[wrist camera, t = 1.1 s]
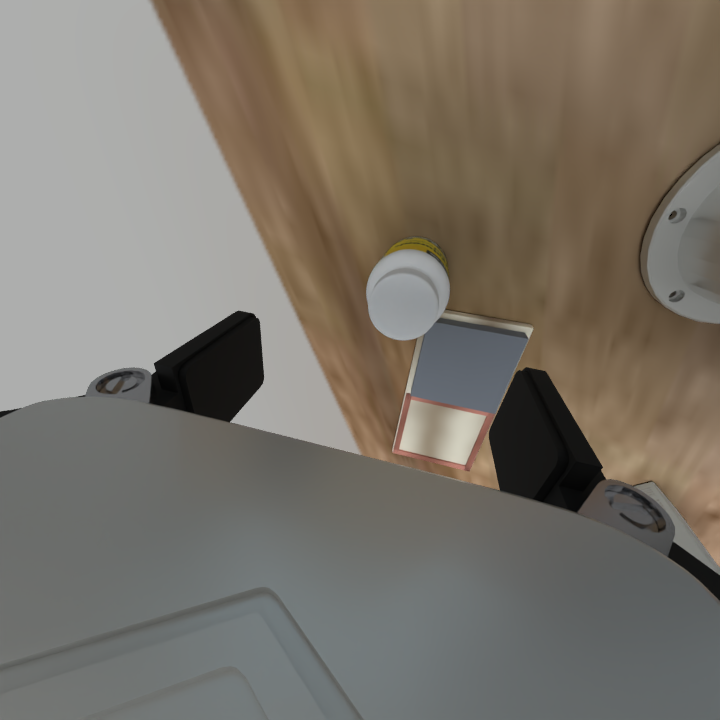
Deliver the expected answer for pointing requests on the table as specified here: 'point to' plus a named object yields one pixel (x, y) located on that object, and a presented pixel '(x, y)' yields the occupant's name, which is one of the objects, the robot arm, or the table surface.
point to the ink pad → (467, 364)
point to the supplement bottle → (408, 288)
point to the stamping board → (445, 414)
